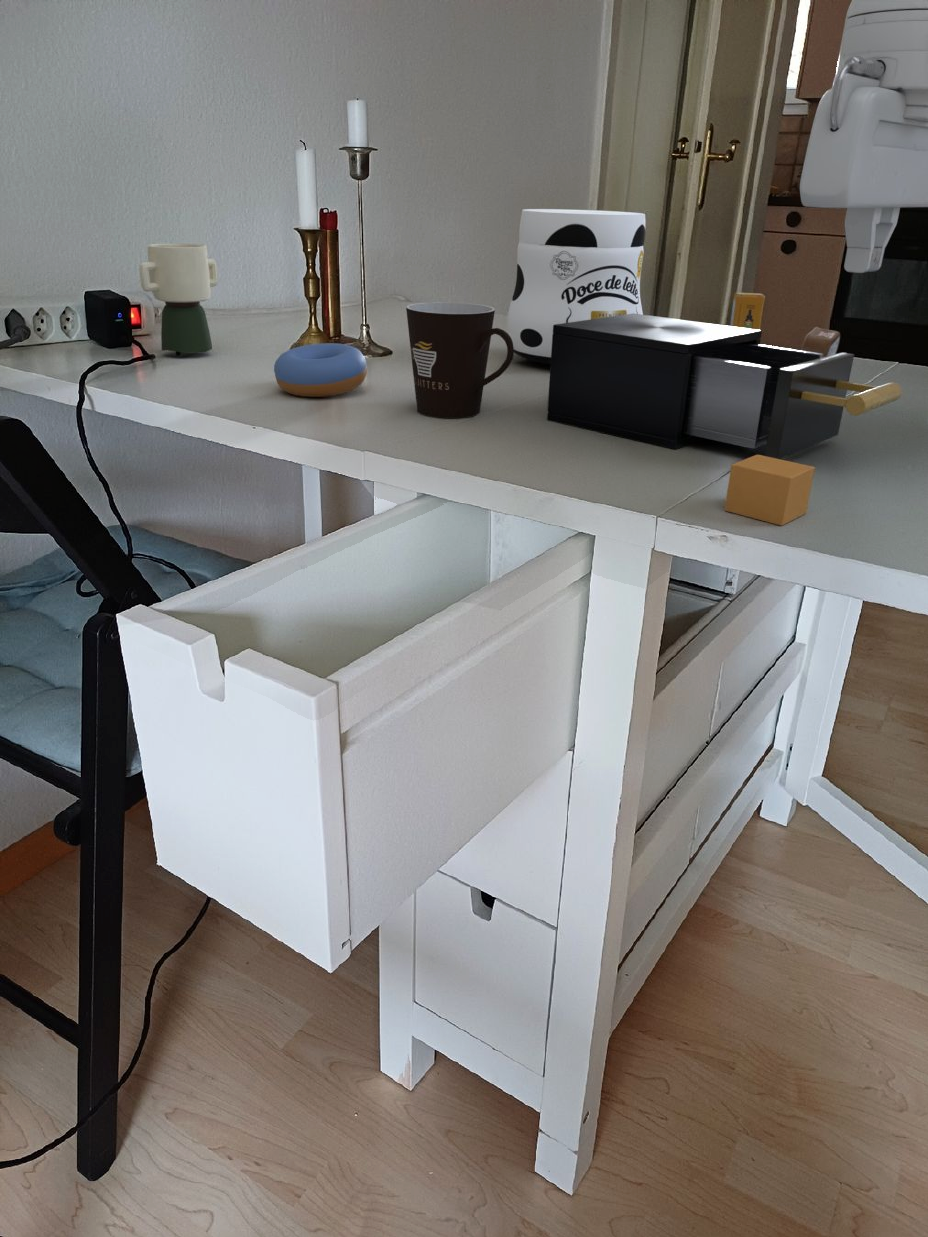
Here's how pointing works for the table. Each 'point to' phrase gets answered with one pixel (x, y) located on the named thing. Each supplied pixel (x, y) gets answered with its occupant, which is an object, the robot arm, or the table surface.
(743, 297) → the supplement box
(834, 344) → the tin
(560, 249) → the milk container
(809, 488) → the tan block
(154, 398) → the table surface
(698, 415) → the drawer with wooden handle
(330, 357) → the doughnut
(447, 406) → the coffee mug
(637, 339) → the black drawer box
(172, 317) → the character mug
